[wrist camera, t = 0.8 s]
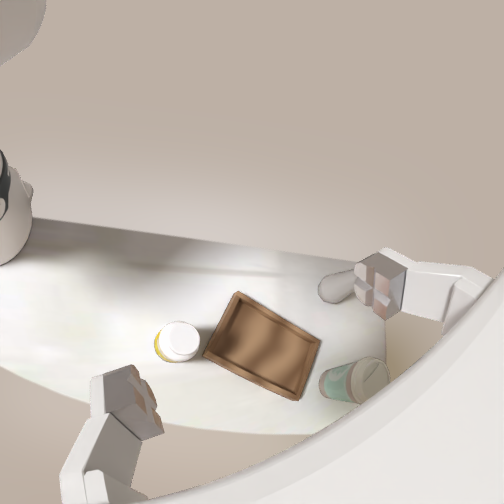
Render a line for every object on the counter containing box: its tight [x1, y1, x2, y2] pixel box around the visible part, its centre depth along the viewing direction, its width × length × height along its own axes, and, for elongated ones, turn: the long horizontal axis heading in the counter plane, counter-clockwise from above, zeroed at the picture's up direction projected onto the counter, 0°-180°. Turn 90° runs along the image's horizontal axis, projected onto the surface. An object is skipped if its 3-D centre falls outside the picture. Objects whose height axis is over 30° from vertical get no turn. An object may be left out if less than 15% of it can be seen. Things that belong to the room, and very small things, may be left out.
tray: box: [202, 291, 320, 401], centre depth 46 cm, size 18×12×2 cm, turn 65°
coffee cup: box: [319, 357, 390, 404], centre depth 45 cm, size 8×8×12 cm
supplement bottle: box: [154, 321, 200, 363], centre depth 37 cm, size 5×5×10 cm
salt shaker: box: [318, 269, 357, 303], centre depth 52 cm, size 6×6×13 cm
